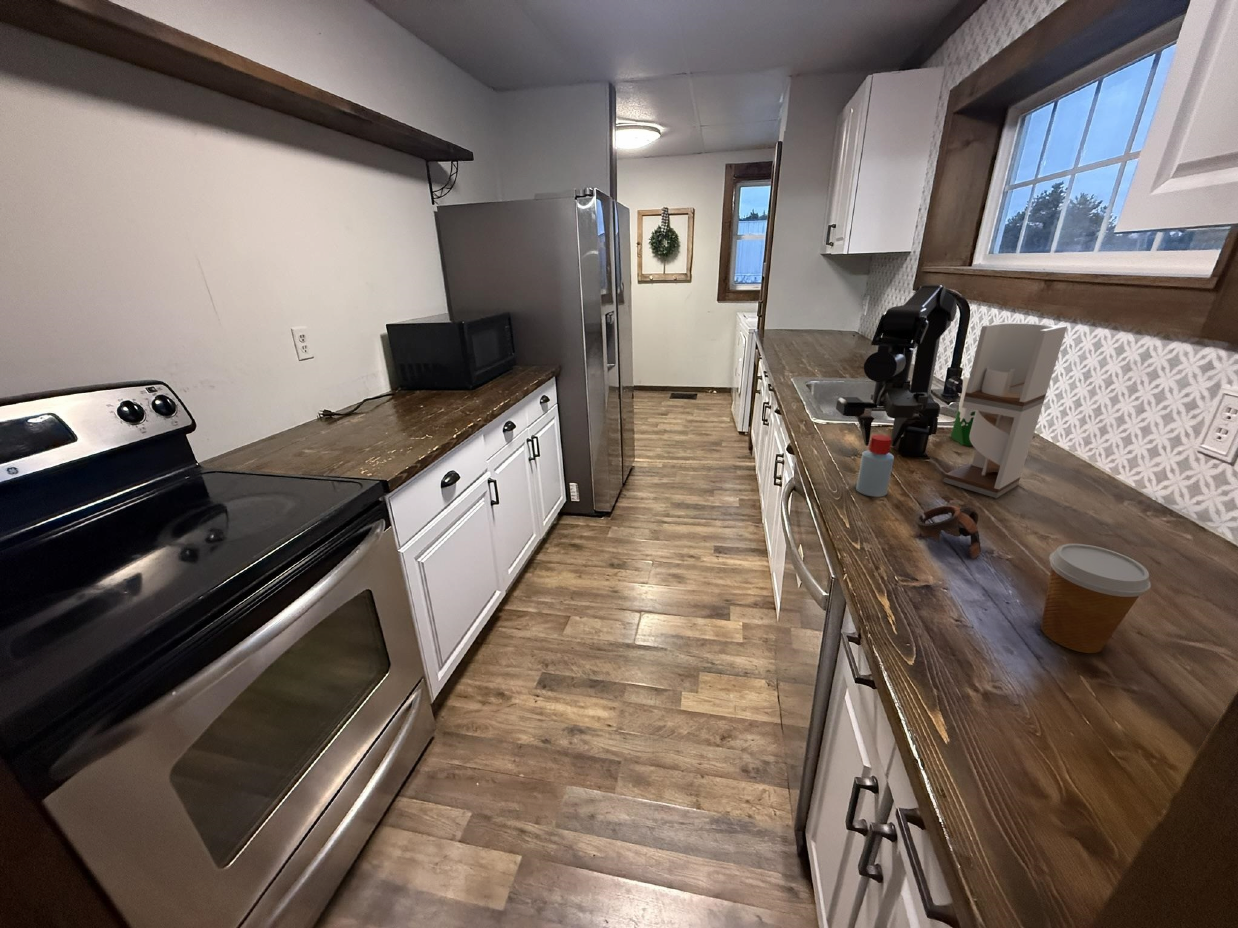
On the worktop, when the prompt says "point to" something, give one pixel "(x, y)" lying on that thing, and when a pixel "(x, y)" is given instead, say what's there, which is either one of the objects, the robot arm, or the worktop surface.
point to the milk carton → (963, 419)
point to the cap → (880, 444)
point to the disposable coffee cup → (1090, 595)
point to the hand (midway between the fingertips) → (879, 445)
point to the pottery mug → (951, 525)
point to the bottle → (874, 473)
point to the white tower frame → (1006, 402)
